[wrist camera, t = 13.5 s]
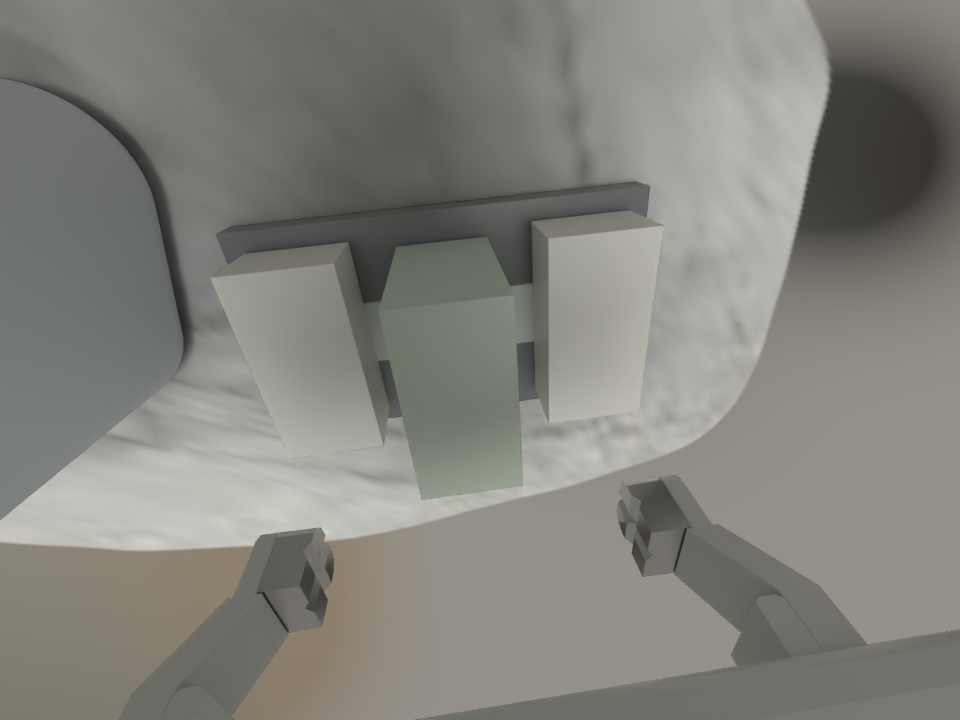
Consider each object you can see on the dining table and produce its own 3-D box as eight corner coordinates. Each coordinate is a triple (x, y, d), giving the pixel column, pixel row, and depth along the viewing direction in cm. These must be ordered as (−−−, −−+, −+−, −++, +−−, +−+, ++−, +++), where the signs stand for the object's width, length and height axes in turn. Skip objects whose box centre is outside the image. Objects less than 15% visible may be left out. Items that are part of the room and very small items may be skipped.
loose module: (396, 246, 20) (378, 311, 14) (486, 236, 21) (514, 295, 14) (425, 398, 25) (422, 503, 18) (498, 389, 25) (523, 489, 18)
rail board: (229, 227, 21) (173, 256, 16) (636, 181, 22) (690, 198, 17) (302, 415, 27) (276, 474, 22) (618, 374, 28) (653, 423, 23)
